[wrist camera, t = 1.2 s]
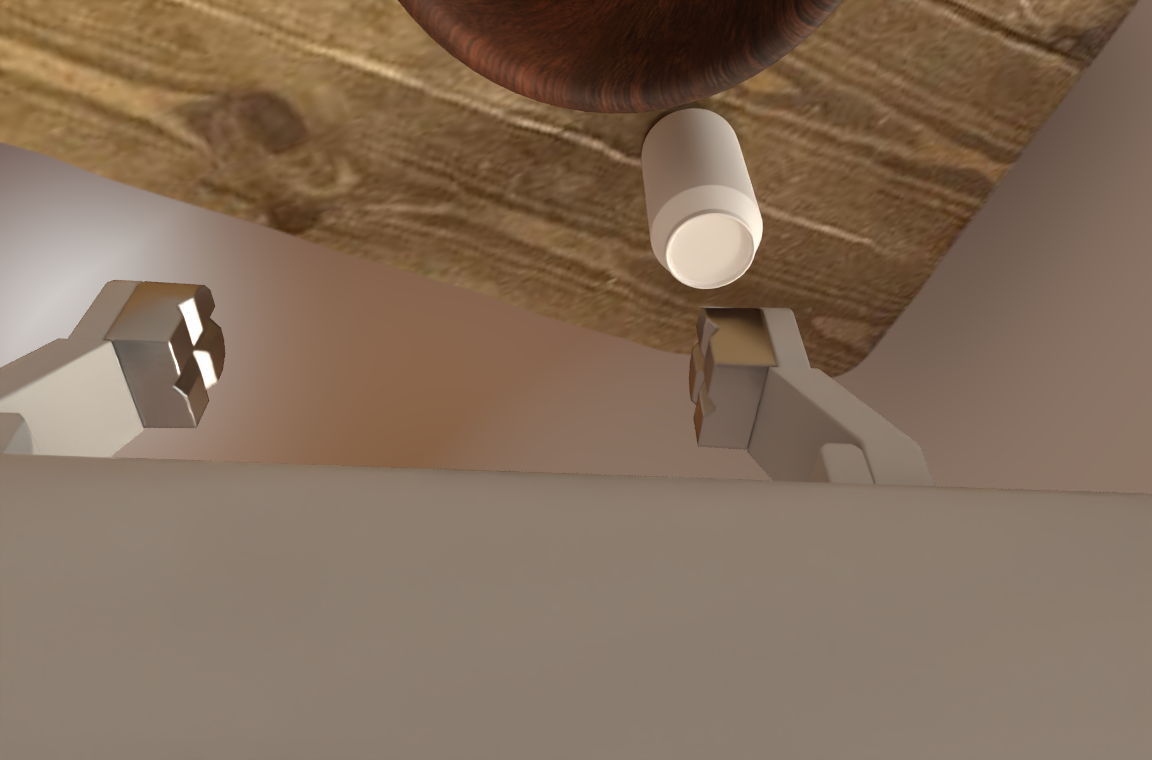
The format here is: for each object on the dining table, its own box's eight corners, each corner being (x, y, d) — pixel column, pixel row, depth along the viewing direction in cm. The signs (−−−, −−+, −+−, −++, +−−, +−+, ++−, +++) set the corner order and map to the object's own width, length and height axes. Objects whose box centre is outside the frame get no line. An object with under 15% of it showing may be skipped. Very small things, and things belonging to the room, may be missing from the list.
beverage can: (645, 99, 55) (660, 199, 46) (745, 104, 55) (778, 205, 46) (635, 188, 59) (646, 296, 50) (727, 192, 59) (755, 301, 50)
